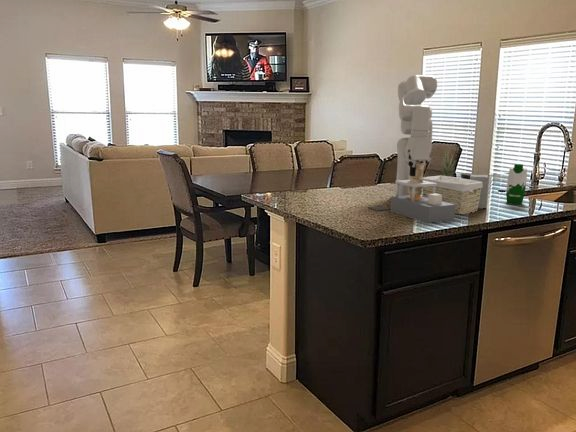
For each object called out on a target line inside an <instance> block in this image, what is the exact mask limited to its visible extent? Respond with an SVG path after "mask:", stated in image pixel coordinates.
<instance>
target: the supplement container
mask: <svg viewBox="0 0 576 432" xmlns="http://www.w3.org/2000/svg"><path fill="white" fill-rule="evenodd" d="M470 175H480V174H478V173H472V172H462V173H461V174H460V178H462V179H469V180H470Z"/></svg>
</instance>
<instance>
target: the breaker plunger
mask: <svg viewBox="0 0 576 432" xmlns="http://www.w3.org/2000/svg"><path fill="white" fill-rule="evenodd" d="M421 196H422V195H415V199H414V200H420V197H421ZM409 199H411V200H412V194H410V197H409Z"/></svg>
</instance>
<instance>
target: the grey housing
mask: <svg viewBox="0 0 576 432" xmlns="http://www.w3.org/2000/svg"><path fill="white" fill-rule="evenodd" d="M396 180H397V179H396ZM396 180H395V182H394V183H395V194H396V196H393V195H391V198H390V210H389V211H390V212H391V213H394V214H397V213H398V215H400V214H401V216H403V217H408V218H410V219H413V220H416V221H419V220H420V221H419V222H422V221H423V223H425V222H426V224H433V223H432V222H437V223H441V222H440V221H447V222H453V221H452V220H454V221H455V215H456V214H455V204H451V203H447V202H443V201H442V203H441V204H440V205H432V204H428V198H427V197H423V196H422V195H421V197H420V200H414V199H415V187H423V186H433V189H432V194H435V187H436V186H437V183H433V182H429V181H424V180H423V183H412V182H410V180H397V181H396ZM396 183H397V185H396ZM399 184H403V185H407V186H411V187H412V200H411V199H409V197H410V195H404V196H399Z"/></svg>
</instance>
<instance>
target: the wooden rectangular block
mask: <svg viewBox="0 0 576 432" xmlns="http://www.w3.org/2000/svg"><path fill="white" fill-rule="evenodd" d="M415 167H416V171H415V176H410V182H412V183H423V177H424V176H423V171H424V172H425V167H424V163H419V161H418V162H417V161H416V163H415ZM409 194H412V187H411V186H409ZM415 195H421V196H422V187H415Z"/></svg>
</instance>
